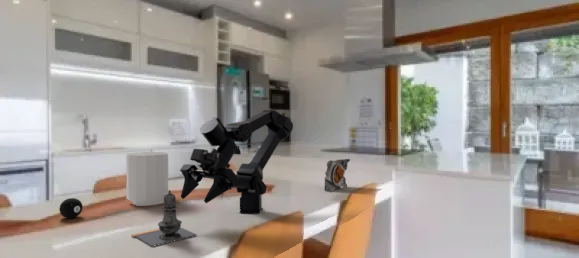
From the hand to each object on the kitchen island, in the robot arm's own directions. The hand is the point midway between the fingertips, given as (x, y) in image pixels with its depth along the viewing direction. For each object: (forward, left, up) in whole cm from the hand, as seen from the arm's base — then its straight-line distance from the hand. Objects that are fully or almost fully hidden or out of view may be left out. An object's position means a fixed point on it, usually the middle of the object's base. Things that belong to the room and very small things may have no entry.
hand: (193, 200), depth 99 cm
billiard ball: (+43, -6, -9) cm, 44 cm away
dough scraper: (+5, +6, -8) cm, 11 cm away
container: (+32, -31, -9) cm, 45 cm away
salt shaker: (+3, +7, -8) cm, 11 cm away
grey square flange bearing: (-38, -67, -9) cm, 78 cm away
